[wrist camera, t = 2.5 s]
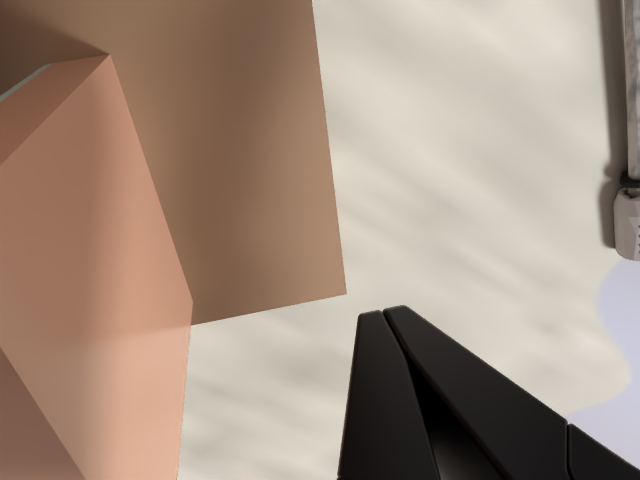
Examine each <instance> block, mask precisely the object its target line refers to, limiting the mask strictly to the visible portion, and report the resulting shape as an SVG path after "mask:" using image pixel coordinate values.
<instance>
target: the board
mask: <svg viewBox="0 0 640 480" xmlns="http://www.w3.org/2000/svg"><path fill="white" fill-rule="evenodd" d="M108 54H110V55H111V58H112V61H113V64H114V67H115V70H116V73H117V76H118V79H119V82H120V85H121V88H122V91H123V94H124V97H125V100H126V103H127V106H128V109H129V112H130V115H131V118H132V121H133V124H134V127H135V130H136V133H137V136H138V139H139V142H140V145H141V148H142V151H143V154H144V157H145V160H146V163H147V166H148V169H149V172H150V175H151V178H152V181H153V184H154V187H155V190H156V193H157V196H158V199H159V201H160V204H161V207H162V210H163V213H164V216H165V219H166V222H167V225H168V228H169V231H170V234H171V237H172V240H173V243H174V246H175V249H176V252H177V255H178V258H179V261H180V264H181V267H182V270H183V273H184V276H185V279H186V282H187V285H188V288H189V291H190V294H191V297H192V300H193V306H192V317H191V325H196V324H201V323H206V322H211V321H216V320H221V319H226V318H231V317H236V316H240V315H245V314H250V313H255V312H260V311H265V310H270V309H275V308H280V307H285V306H290V305H295V304H300V303H305V302H310V301H315V300H320V299H325V298H330V297H335V296H340V295H344V294H347V292H346V283H345V275H344V267H343V258H342V250H341V242H340V233H339V225H338V216H337V208H336V200H335V191H334V183H333V175H332V166H331V158H330V150H329V141H328V133H327V124H326V116H325V108H324V99H323V91H322V83H321V74H320V66H319V58H318V49H317V41H316V32H315V24H314V16H313V7H312V0H0V96H1V95H2V94H4V93H5V92H7V91H8V90H10V89H11V88H12V87H14V86H15V85H17V84H18V83H20V82H21V81H22V80H24V79H25V78H27V77H28V76H29V75H31V74H32V73H34V72H35V71H37V70H38V69H39V68H41V67H42V66H44V65H46V64H52V63H58V62H65V61H71V60H77V59H83V58H90V57H96V56H102V55H108Z"/></svg>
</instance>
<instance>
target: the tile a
mask: <svg viewBox="0 0 640 480" xmlns="http://www.w3.org/2000/svg"><path fill="white" fill-rule="evenodd" d="M192 306H193V300H192V297H191V294H190V291H189V288H188V285H187V282H186V279H185V276H184V273H183V270H182V267H181V264H180V261H179V258H178V255H177V252H176V249H175V246H174V243H173V240H172V237H171V234H170V231H169V228H168V225H167V222H166V219H165V216H164V213H163V210H162V207H161V204H160V201H159V199H158V196H157V193H156V190H155V187H154V184H153V181H152V178H151V175H150V172H149V169H148V166H147V163H146V160H145V157H144V154H143V151H142V148H141V145H140V142H139V139H138V136H137V133H136V130H135V127H134V124H133V121H132V118H131V115H130V112H129V109H128V106H127V103H126V100H125V97H124V94H123V91H122V88H121V85H120V82H119V79H118V76H117V73H116V70H115V67H114V64H113V61H112V58H111V55H110V54H108V55H102V56H96V57H90V58H83V59H77V60H71V61H65V62H58V63H52V64H46V65H44V66H42V67H41V68H39V69H38V70H37V71H35V72H34V73H32V74H31V75H29V76H28V77H27V78H25V79H24V80H22V81H21V82H20V83H18V84H17V85H15V86H14V87H12V88H11V89H10V90H8V91H7V92H5V93H4V94H2V95H1V96H0V480H177V477H178V466H179V454H180V443H181V432H182V420H183V409H184V397H185V386H186V374H187V363H188V352H189V340H190V329H191V317H192Z"/></svg>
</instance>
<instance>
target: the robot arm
mask: <svg viewBox="0 0 640 480" xmlns="http://www.w3.org/2000/svg"><path fill="white" fill-rule="evenodd" d="M337 475H338V478H337V480H640V470H639V469H638V468H636V467H635V466H633V465H631V464H630V463H628V462H627V461H625V460H624V459H623V458H621V457H620V456H618V455H617V454H615V453H613V452H612V451H611V450H609V449H608V448H606V447H605V446H603V445H602V444H600V443H599V442H597V441H596V440H595V439H593V438H592V437H590V436H589V435H587V434H586V433H585V432H583V431H582V430H580V429H579V428H578V427H576V426H575V425H573V424H568V422H567V420H566V419H565V418H563V417H562V416H560V415H559V414H558V413H556V412H555V411H553V410H552V409H551V408H549V407H548V406H546V405H545V404H544V403H542V402H541V401H539V400H538V399H537V398H535V397H534V396H532V395H531V394H530V393H528V392H527V391H525V390H524V389H523V388H521V387H520V386H518V385H517V384H515V383H514V382H513V381H511V380H510V379H508V378H507V377H506V376H504V375H503V374H501V373H500V372H499V371H497V370H496V369H494V368H493V367H492V366H490V365H489V364H487V363H486V362H485V361H483V360H482V359H480V358H479V357H478V356H476V355H475V354H473V353H472V352H471V351H469V350H468V349H466V348H465V347H464V346H462V345H461V344H459V343H458V342H456V341H455V340H454V339H452V338H451V337H449V336H448V335H447V334H445V333H444V332H442V331H441V330H440V329H438V328H437V327H435V326H434V325H433V324H431V323H430V322H428V321H427V320H426V319H424V318H423V317H421V316H420V315H419V314H417V313H416V312H414V311H413V310H412V309H410V308H409V307H407V306H405V305H400V306H395V307H390V308H386V309H384V310H383V311H382V312H381V311H380V310H375V311H371V312H366V313H361V314H360V315H359V316H358V322H357V329H356V337H355V344H354V352H353V360H352V367H351V375H350V382H349V390H348V398H347V405H346V413H345V420H344V428H343V435H342V443H341V451H340V458H339V466H338V473H337Z"/></svg>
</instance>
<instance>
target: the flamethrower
mask: <svg viewBox="0 0 640 480" xmlns="http://www.w3.org/2000/svg"><path fill="white" fill-rule="evenodd" d="M624 11H625V60H626V94H627V130H628V170H627V171H625V172H623V173H622V175H621V177H620V184H621V185H623V186H624V188H622V189H619V191H618V194H617V196H616V199H615V201H614V204H613V209H614V228H615V247H616V251H617V253H618V254H619V255H620V256H622V257H623V258H625V259H629V260H633V261H640V0H624Z"/></svg>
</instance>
